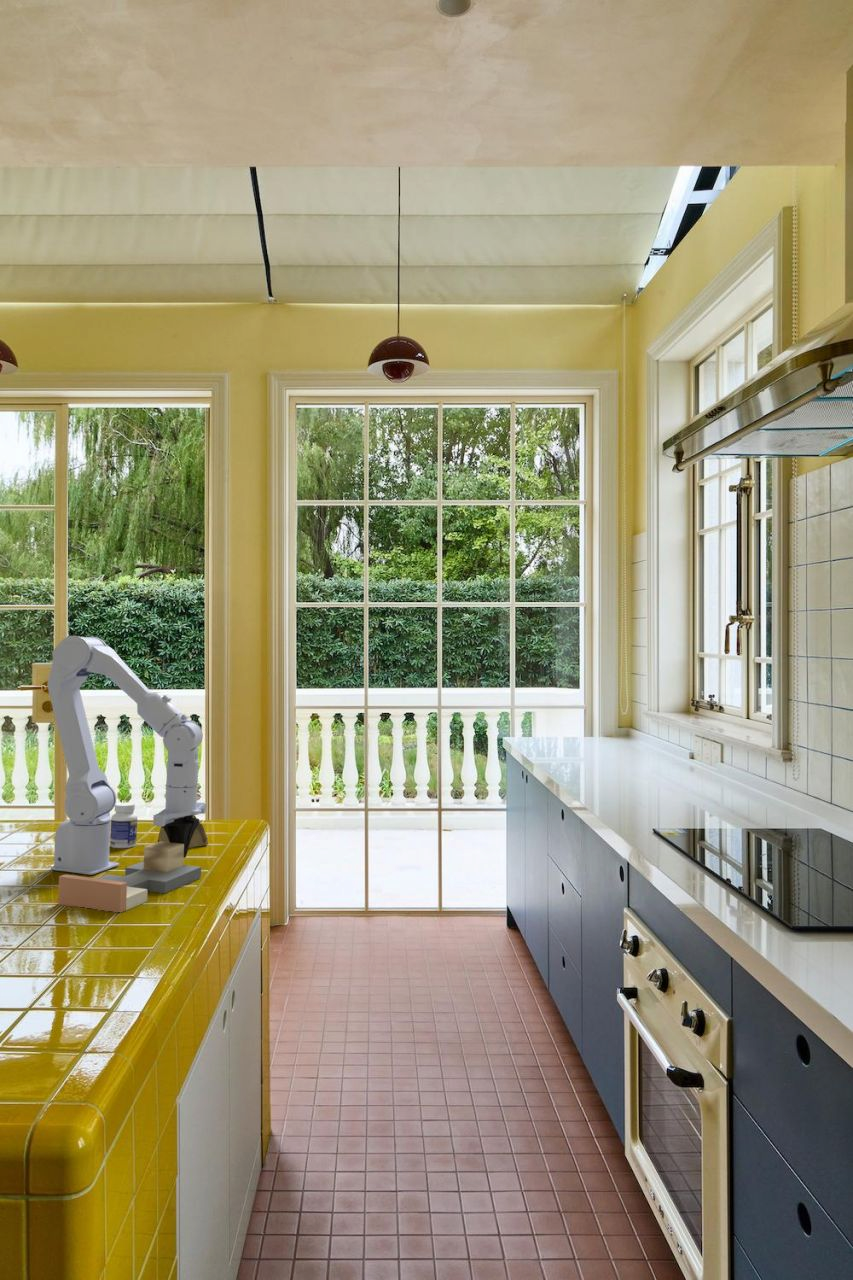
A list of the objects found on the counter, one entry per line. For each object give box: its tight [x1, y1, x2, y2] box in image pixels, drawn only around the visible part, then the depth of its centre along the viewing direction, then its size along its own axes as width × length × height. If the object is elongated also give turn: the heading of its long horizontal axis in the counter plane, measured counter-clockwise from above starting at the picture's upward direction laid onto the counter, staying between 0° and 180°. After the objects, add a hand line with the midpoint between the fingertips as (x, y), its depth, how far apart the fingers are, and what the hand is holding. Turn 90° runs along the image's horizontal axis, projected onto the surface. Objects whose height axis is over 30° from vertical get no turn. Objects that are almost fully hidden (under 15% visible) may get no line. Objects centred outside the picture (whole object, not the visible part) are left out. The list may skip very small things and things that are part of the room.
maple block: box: [143, 841, 184, 872], centre depth 155 cm, size 5×5×4 cm
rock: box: [157, 815, 209, 849], centre depth 178 cm, size 11×9×10 cm
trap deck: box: [57, 860, 202, 913], centre depth 146 cm, size 12×23×4 cm, turn 162°
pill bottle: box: [110, 802, 138, 849], centre depth 179 cm, size 5×5×9 cm
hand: (179, 857), depth 159 cm, fingers closed
